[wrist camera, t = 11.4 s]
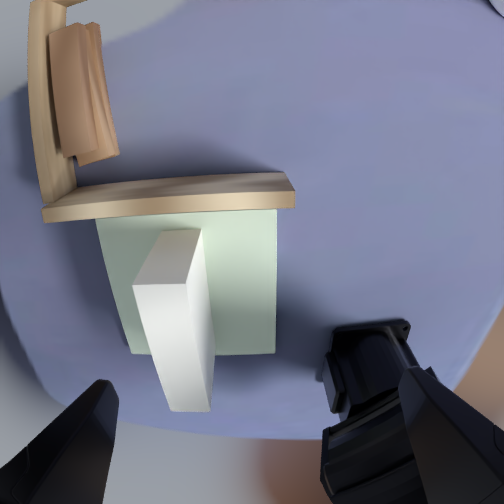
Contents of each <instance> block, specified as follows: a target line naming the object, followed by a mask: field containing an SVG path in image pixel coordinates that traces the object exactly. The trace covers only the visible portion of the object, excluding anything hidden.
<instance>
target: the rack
mask: <svg viewBox="0 0 504 504" xmlns="http://www.w3.org/2000/svg"><path fill="white" fill-rule="evenodd" d="M83 1H87V0H35V1H33V2H31V3H30V13H29V28H28V94H29V109H30V121H31V131H32V139H33V147H34V155H35V161H36V168H37V174H38V179H39V185H40V190H41V195H42V200H43V204H47V203H49V204H48V205H46V206H45V207H43V208H42V209H41V212H42V217H43V221H44V223H52V222H62V221H73V220H84V219H95V218H107V217H120V216H134V215H148V214H164V213H181V212H199V211H220V210H245V209H276V208H295V190H294V188H293V186H292V185H291V183H290V181H289V179H288V178H287V176H286V174H285V173H284V172H277V173H242V174H219V175H201V176H186V177H172V178H160V179H148V180H138V181H128V182H118V183H109V184H101V185H93V186H85V187H77V182H76V176H75V169H74V162H73V156H70V157H67V158H63V154H62V148H61V143H60V137H59V131H58V125H57V118H56V111H55V103H54V95H53V85H52V74H51V61H50V43H49V34H51V33H53V32H55V31H57V30H60V29H62V28H64V27H66V8H67V7H69V6H72V5H74V4H77V3H81V2H83Z"/></svg>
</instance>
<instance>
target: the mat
mask: <svg viewBox="0 0 504 504" xmlns="http://www.w3.org/2000/svg"><path fill="white" fill-rule="evenodd" d="M95 221H96V226H97V231H98V235H99V240H100V244H101V249H102V253H103V257H104V261H105V265H106V269H107V273H108V277H109V281H110V285H111V288H112V292H113V296H114V299H115V302H116V306H117V309H118V313H119V316H120V319H121V322H122V326H123V329H124V332H125V335H126V338H127V341H128V344H129V347H130V350H131V353H132V354H151V351H150V348H149V345H148V341H147V338H146V335H145V331H144V328H143V324H142V321H141V317H140V313H139V310H138V306H137V302H136V298H135V295H134V291H133V287H132V284H133V282H134V280H135V278H136V277H137V275H138V273H139V271H140V269H141V267H142V265H143V264H144V262H145V260H146V258H147V256H148V255H149V253H150V251H151V249H152V247H153V246H154V244H155V242H156V240H157V239H158V237H159V235H160V233H161V232H162V231H171V230H189V229H202V237H203V247H204V256H205V265H206V273H207V282H208V290H209V298H210V306H211V313H212V321H213V328H214V335H215V343H216V351H215V355H248V354H271V353H275V339H276V275H277V208H276V209H245V210H220V211H199V212H181V213H164V214H148V215H134V216H120V217H107V218H96V219H95ZM151 355H152V354H151Z"/></svg>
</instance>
